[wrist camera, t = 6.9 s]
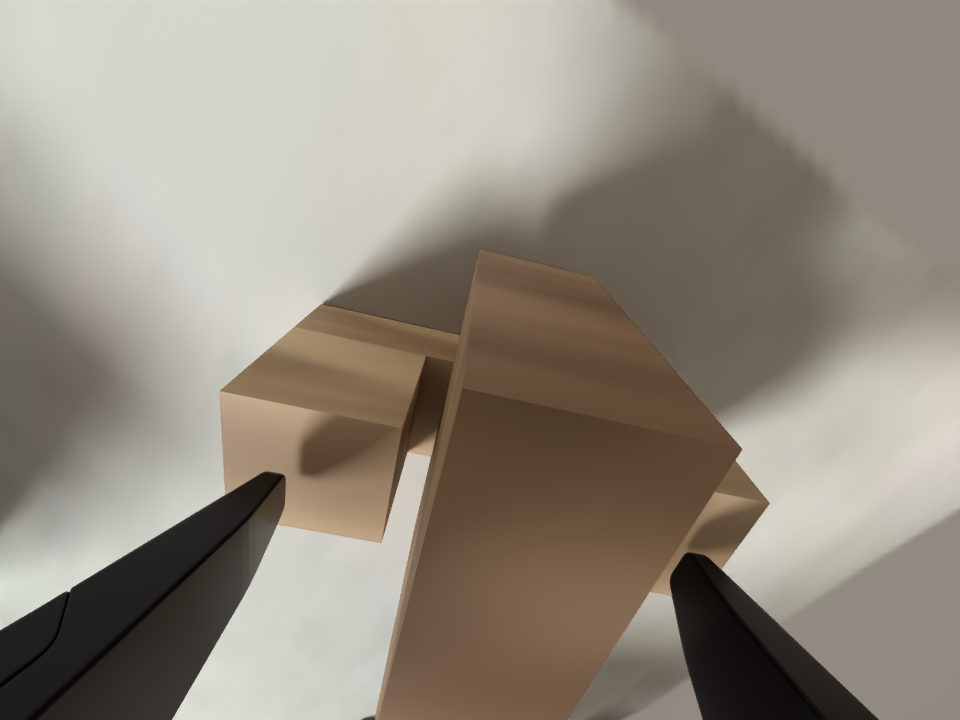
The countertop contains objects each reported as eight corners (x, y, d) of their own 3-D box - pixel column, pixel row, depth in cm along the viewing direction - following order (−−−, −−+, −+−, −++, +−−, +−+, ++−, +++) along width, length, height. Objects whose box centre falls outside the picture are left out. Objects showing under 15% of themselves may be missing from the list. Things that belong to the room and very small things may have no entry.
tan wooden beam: (496, 542, 15) (500, 821, 9) (414, 526, 15) (357, 802, 8) (593, 276, 11) (742, 448, 4) (480, 248, 10) (462, 388, 4)
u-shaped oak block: (632, 461, 16) (698, 600, 11) (315, 395, 15) (226, 515, 10) (672, 383, 14) (770, 503, 9) (321, 304, 13) (219, 391, 8)
